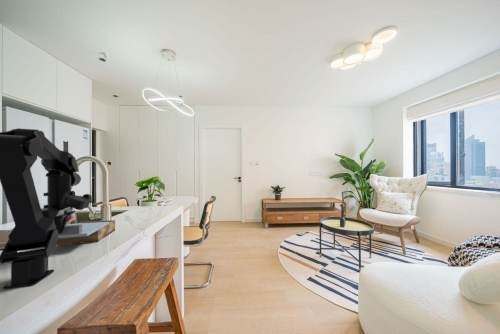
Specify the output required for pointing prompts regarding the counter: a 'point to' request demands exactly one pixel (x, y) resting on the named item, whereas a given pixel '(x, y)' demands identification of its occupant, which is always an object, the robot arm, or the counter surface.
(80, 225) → the lid
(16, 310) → the counter surface
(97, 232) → the box
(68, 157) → the robot arm
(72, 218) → the energy drink
